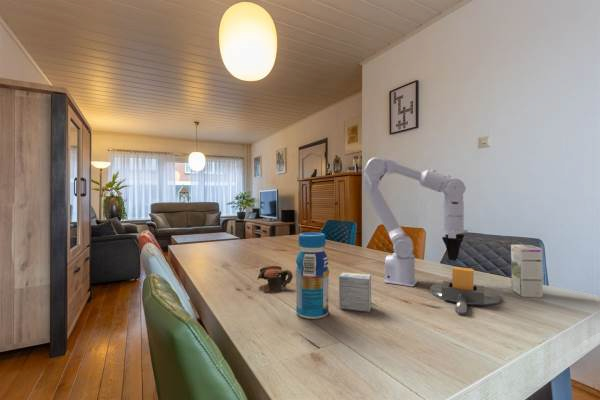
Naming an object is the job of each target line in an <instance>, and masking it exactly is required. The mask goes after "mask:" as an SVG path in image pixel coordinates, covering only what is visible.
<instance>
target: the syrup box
mask: <svg viewBox="0 0 600 400" xmlns="http://www.w3.org/2000/svg"><path fill="white" fill-rule="evenodd" d="M510 257H511V261H510V263H511V264H510V265H511V266H510V267H511V268H510V269H511V272H510V273H511V291H512V292H514V293H515V294H517V295H519V296H520V297H524V298H537V299H539V298H540V299H543V298H544V291H543V290H544V289H543V288H544V286H543V284H544V283H543V282H544V281H543V247H538V246H535V245H531V244H511V245H510Z"/></svg>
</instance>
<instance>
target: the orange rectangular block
mask: <svg viewBox="0 0 600 400" xmlns="http://www.w3.org/2000/svg"><path fill="white" fill-rule="evenodd" d="M451 273H452V279H451V282H452V288H459V289H466V290H473V285H474V268H469V267H459V266H453V267H452V272H451Z"/></svg>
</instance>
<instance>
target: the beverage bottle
mask: <svg viewBox="0 0 600 400" xmlns="http://www.w3.org/2000/svg"><path fill="white" fill-rule="evenodd" d="M298 246H299V248H300V251H298V253H297V256H296V259H295V263H296V265H297V266H296V267H295V272H294V273H295V288H296V289H295V293H296V295H295V296H296V297H295V298H296V299H295V300H296V308H295V311H296V314H297V315H298V316H299V317H301V318H304V319H309V320H319V319H322V318H324V317H326V316H327V315H328V314H329V309H330V307H329V275H330V269H329V267H328V264H329V263H330V261H329V257H328V255H327V253H326V251H325V250H324V248H326V234H325V233H322V232H302V233H299V234H298Z"/></svg>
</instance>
